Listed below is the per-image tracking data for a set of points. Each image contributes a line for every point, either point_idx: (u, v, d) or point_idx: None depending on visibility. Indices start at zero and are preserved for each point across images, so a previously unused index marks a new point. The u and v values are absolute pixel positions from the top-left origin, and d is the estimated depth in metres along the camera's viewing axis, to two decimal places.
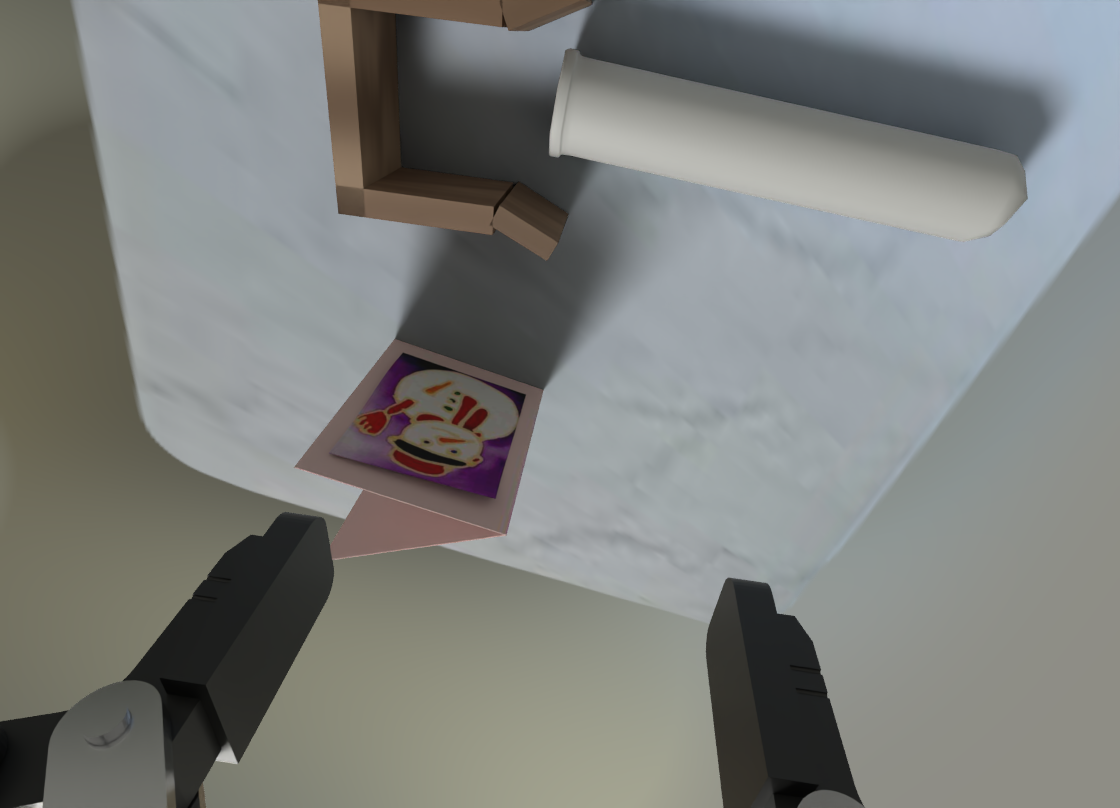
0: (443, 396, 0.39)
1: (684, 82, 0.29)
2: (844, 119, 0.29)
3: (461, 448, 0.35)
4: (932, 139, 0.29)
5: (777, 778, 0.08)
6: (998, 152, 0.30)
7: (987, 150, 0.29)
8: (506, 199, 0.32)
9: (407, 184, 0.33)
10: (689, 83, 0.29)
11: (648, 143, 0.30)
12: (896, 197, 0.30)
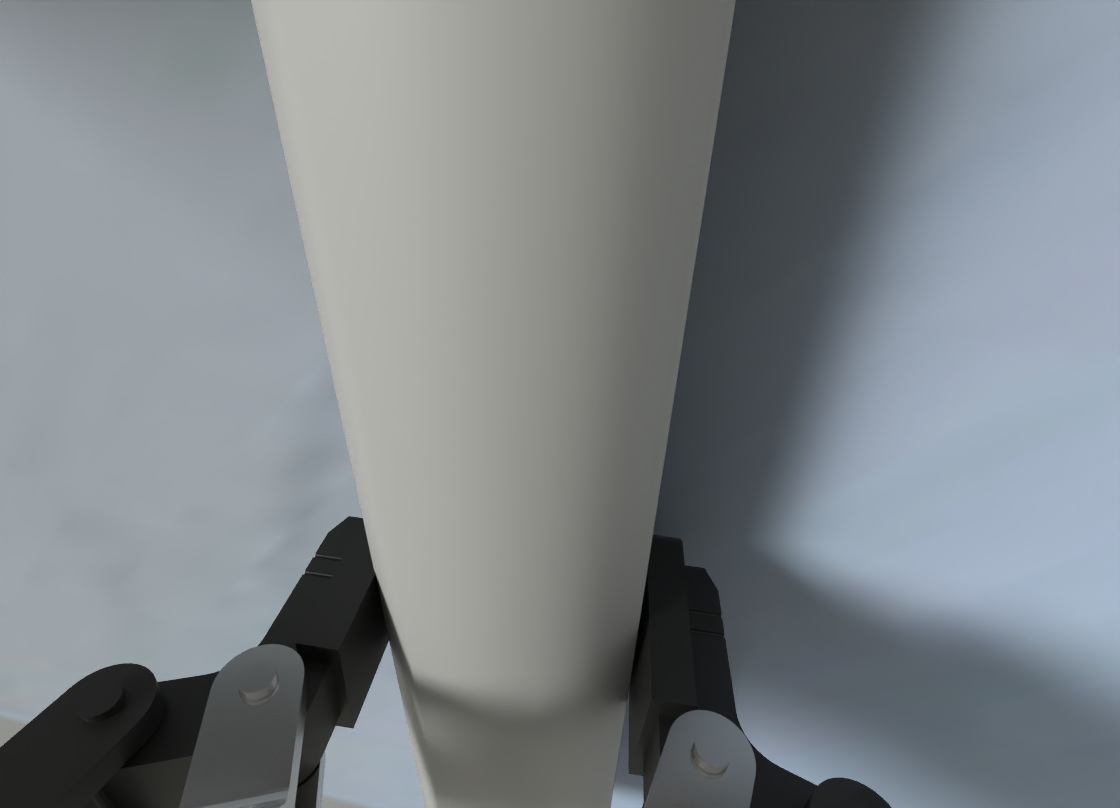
0: None
1: (711, 120, 0.06)
2: (628, 652, 0.10)
3: None
4: (609, 784, 0.12)
5: (661, 701, 0.09)
6: None
7: None
8: None
9: None
10: (707, 149, 0.06)
11: None
12: None
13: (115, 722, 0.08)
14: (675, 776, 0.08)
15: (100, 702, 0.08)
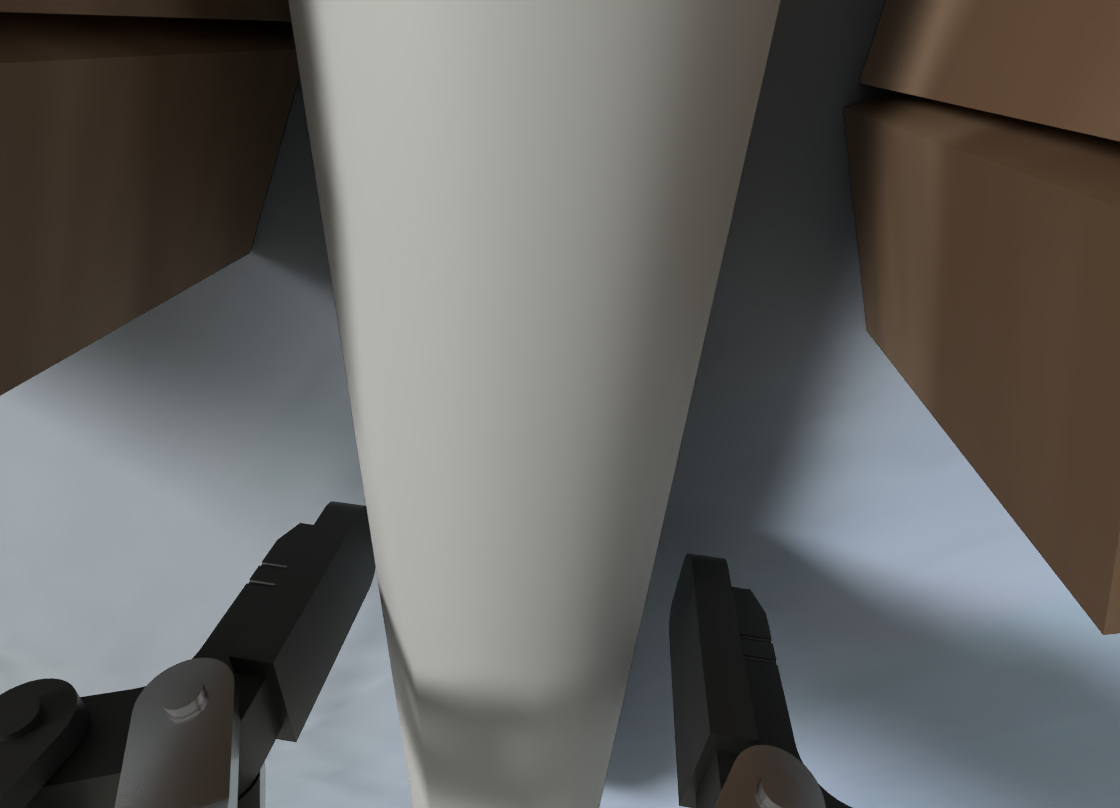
0: None
1: (746, 127, 0.06)
2: (627, 652, 0.10)
3: None
4: (599, 782, 0.13)
5: (719, 735, 0.08)
6: None
7: None
8: (53, 70, 0.05)
9: None
10: (740, 156, 0.06)
11: None
12: (457, 791, 0.12)
13: (30, 740, 0.07)
14: None
15: (16, 719, 0.07)
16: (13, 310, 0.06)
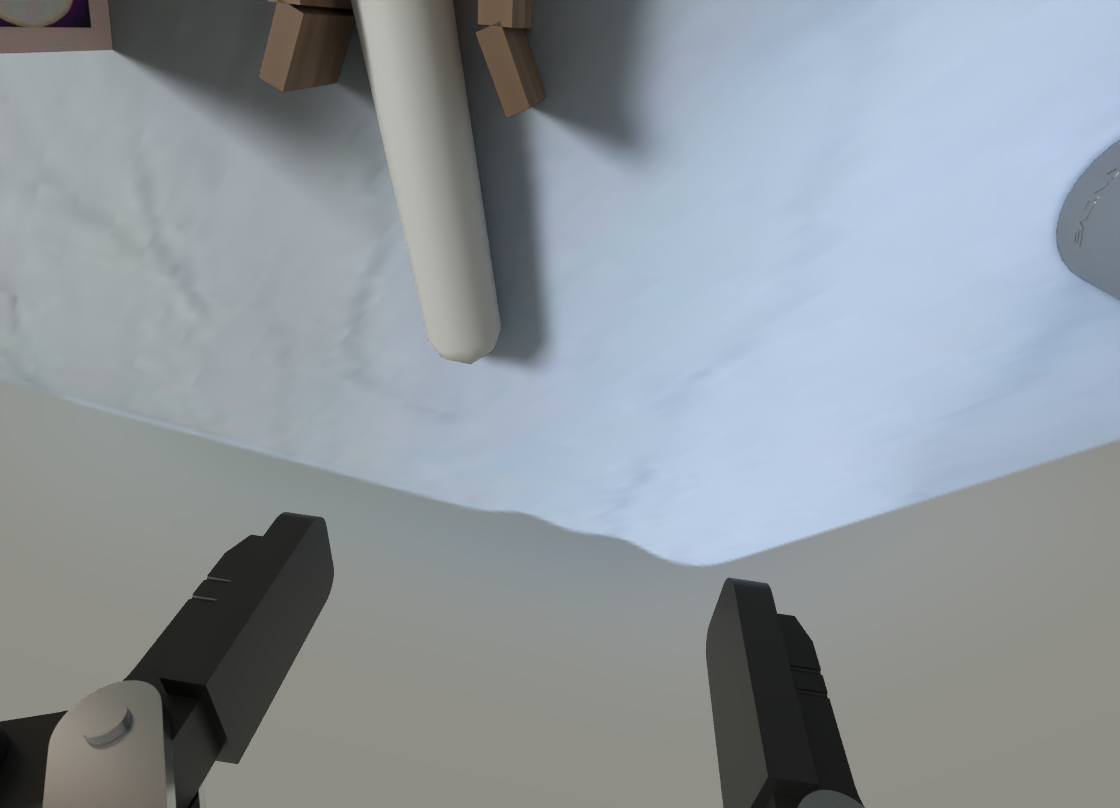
0: None
1: (443, 17, 0.28)
2: (471, 195, 0.32)
3: None
4: (483, 275, 0.35)
5: (777, 778, 0.08)
6: (492, 327, 0.37)
7: (491, 318, 0.36)
8: (318, 16, 0.28)
9: None
10: (444, 23, 0.28)
11: None
12: (430, 269, 0.34)
13: None
14: None
15: None
16: (301, 67, 0.29)
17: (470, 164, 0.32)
